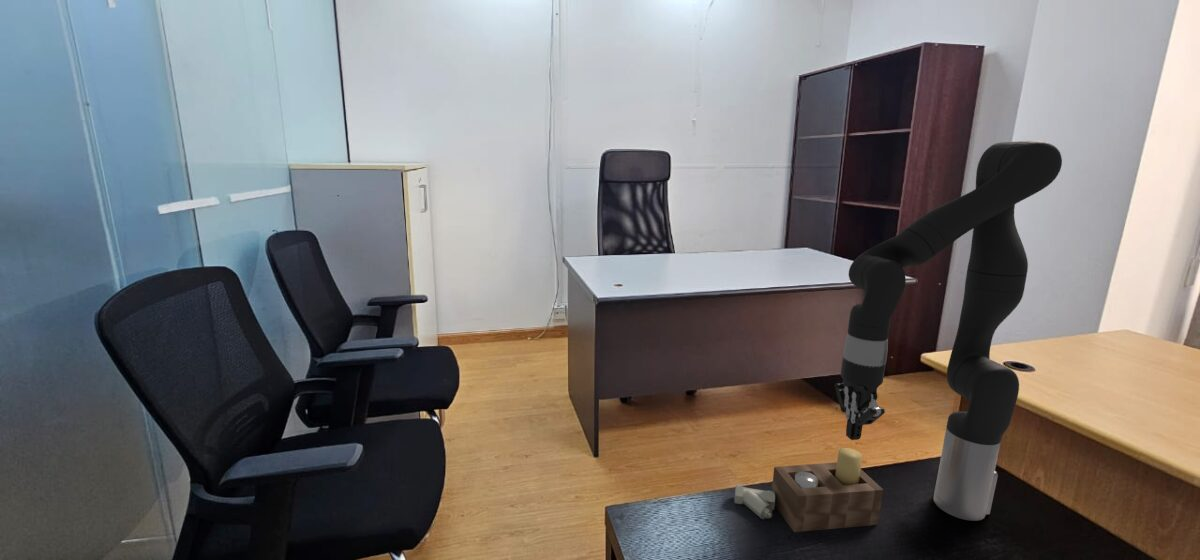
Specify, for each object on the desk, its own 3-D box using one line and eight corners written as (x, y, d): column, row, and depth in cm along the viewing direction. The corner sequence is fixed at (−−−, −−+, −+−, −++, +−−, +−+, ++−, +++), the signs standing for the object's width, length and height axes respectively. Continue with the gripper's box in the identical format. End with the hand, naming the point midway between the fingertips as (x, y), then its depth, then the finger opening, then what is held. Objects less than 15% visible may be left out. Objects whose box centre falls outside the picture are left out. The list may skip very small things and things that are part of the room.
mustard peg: (849, 479, 110) (853, 447, 108) (862, 492, 106) (867, 459, 104) (829, 480, 109) (834, 448, 108) (842, 493, 105) (846, 460, 104)
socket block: (847, 493, 114) (852, 461, 113) (877, 524, 105) (883, 489, 103) (770, 499, 112) (774, 466, 110) (794, 532, 102) (798, 496, 100)
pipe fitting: (774, 525, 105) (773, 502, 111) (776, 509, 104) (774, 487, 110) (733, 518, 107) (734, 496, 113) (735, 502, 106) (735, 481, 112)
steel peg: (807, 502, 110) (810, 470, 108) (818, 516, 106) (822, 483, 104) (787, 504, 109) (791, 472, 108) (798, 518, 105) (802, 485, 103)
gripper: (905, 370, 95) (891, 454, 99) (860, 345, 108) (849, 421, 112) (868, 371, 94) (855, 457, 98) (827, 346, 107) (817, 422, 111)
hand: (852, 437), depth 105 cm, fingers closed
